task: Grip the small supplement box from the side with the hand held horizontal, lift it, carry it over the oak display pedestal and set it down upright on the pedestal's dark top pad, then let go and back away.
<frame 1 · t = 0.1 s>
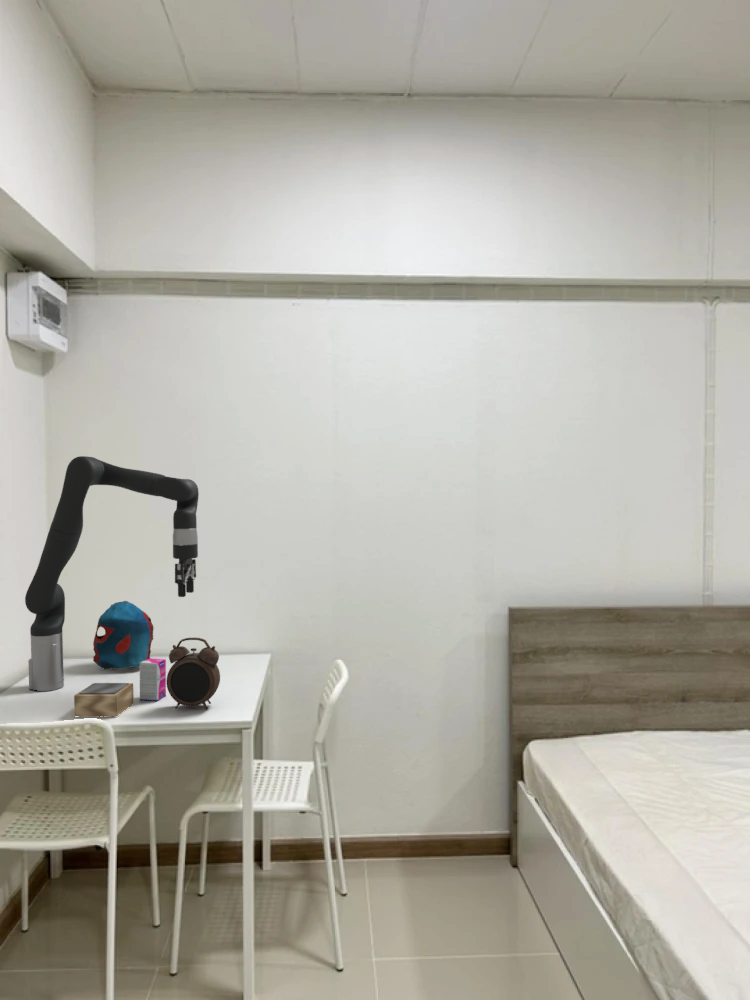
hand: (186, 594, 230), 29 cm above the table, tool pointing down, fingers open, 8 cm apart
pedestal: (105, 710, 208), on the table
mask: (125, 667, 257), on the table
supplement box: (153, 699, 219), on the table
alarm clock: (194, 708, 209), on the table
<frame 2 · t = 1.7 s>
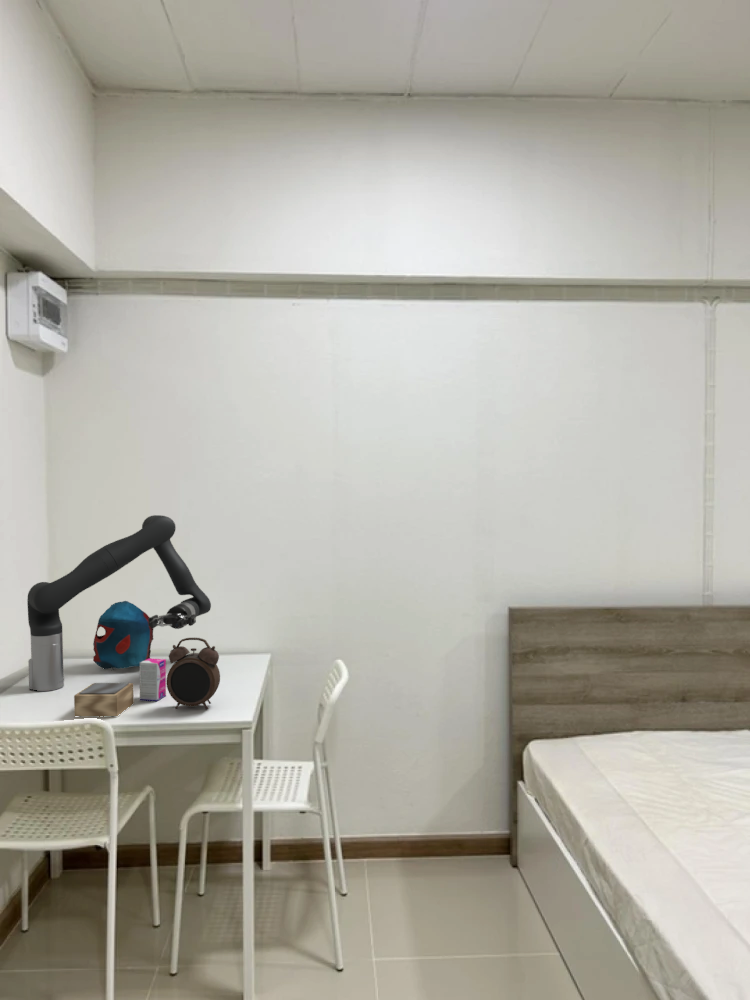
hand: (165, 624, 230), 20 cm above the table, tool horizontal, fingers open, 8 cm apart
nothing on the table moved.
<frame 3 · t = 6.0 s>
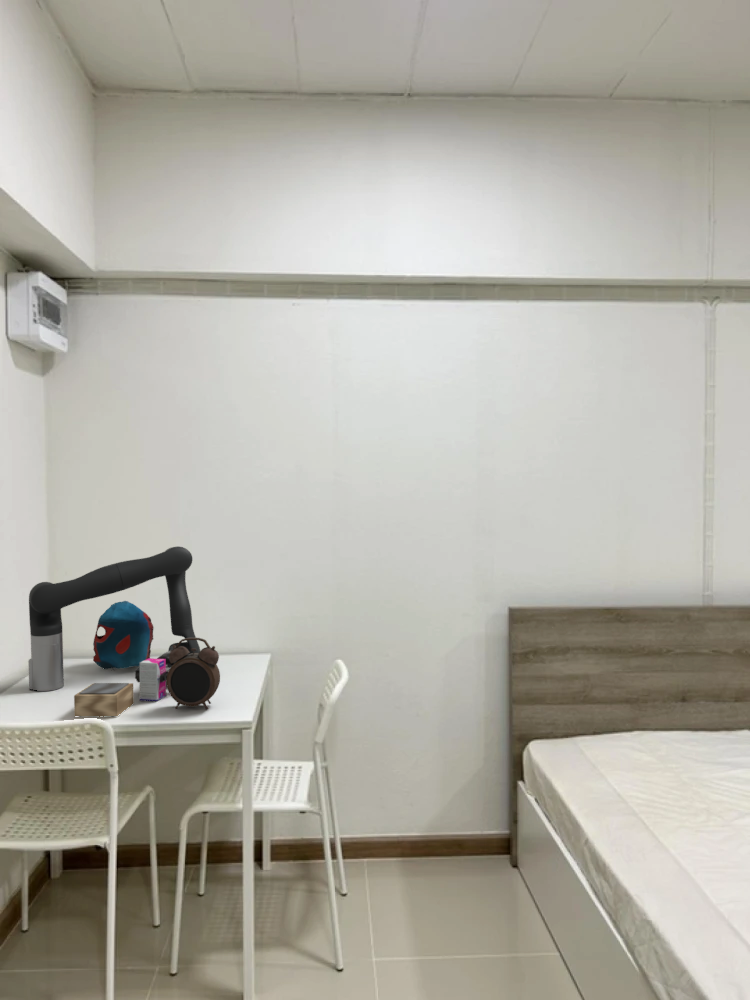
hand: (149, 678, 216), 7 cm above the table, tool horizontal, fingers closed on supplement box, 6 cm apart
supplement box: (153, 699, 219), on the table, touching gripper
everything else where it was.
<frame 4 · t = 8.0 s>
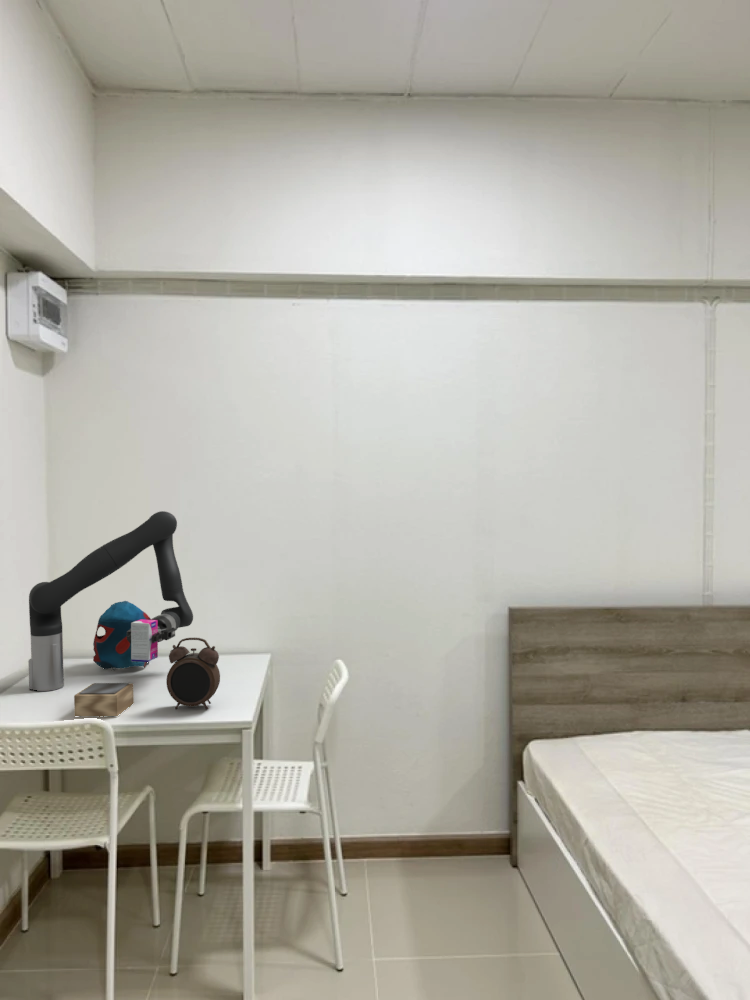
hand: (141, 639, 214), 19 cm above the table, tool horizontal, fingers closed on supplement box, 6 cm apart
supplement box: (145, 660, 217), point 12 cm above the table, touching gripper
everything else where it was.
when the fingers open (14 cm above the table, at t = 10.4 s): supplement box stays where it is, resting on pedestal.
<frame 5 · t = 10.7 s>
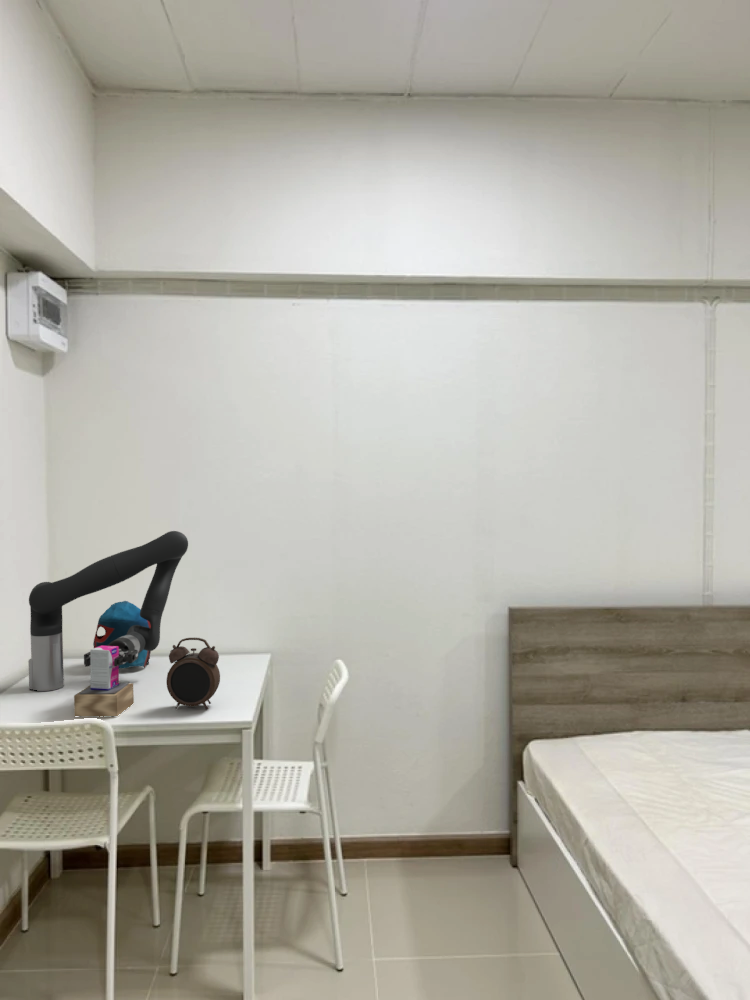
hand: (100, 662, 206), 14 cm above the table, tool horizontal, fingers open, 8 cm apart
supplement box: (105, 688, 208), point 6 cm above the table, touching pedestal
everything else where it was.
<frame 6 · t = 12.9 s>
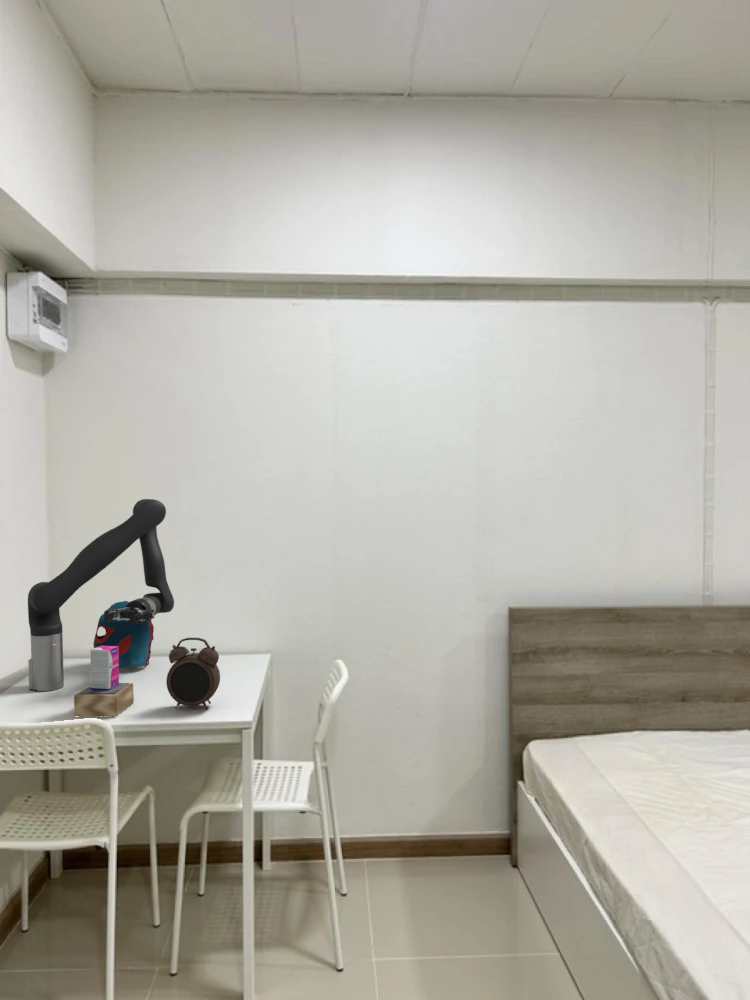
hand: (120, 618, 221), 24 cm above the table, tool horizontal, fingers open, 8 cm apart
nothing on the table moved.
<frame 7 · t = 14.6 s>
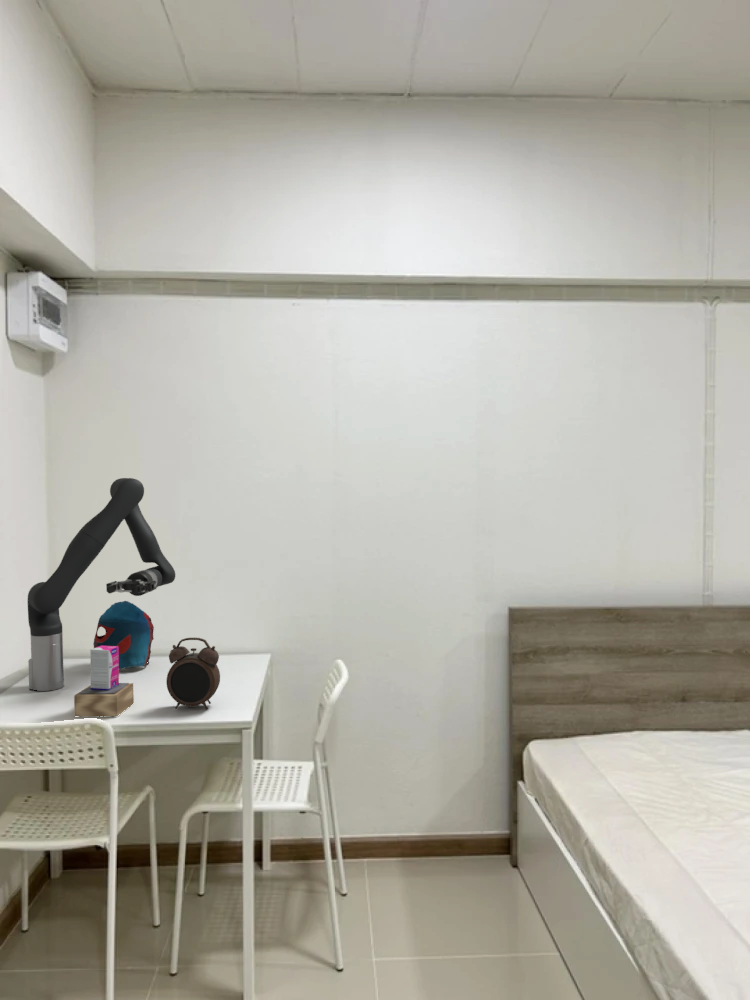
hand: (122, 589, 222), 32 cm above the table, tool horizontal, fingers open, 8 cm apart
nothing on the table moved.
at the end: supplement box inside the target area on the pedestal (0.2 cm from its centre), point 6.2 cm above the pedestal's base; supplement box tilted 0°; the gripper is holding nothing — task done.
